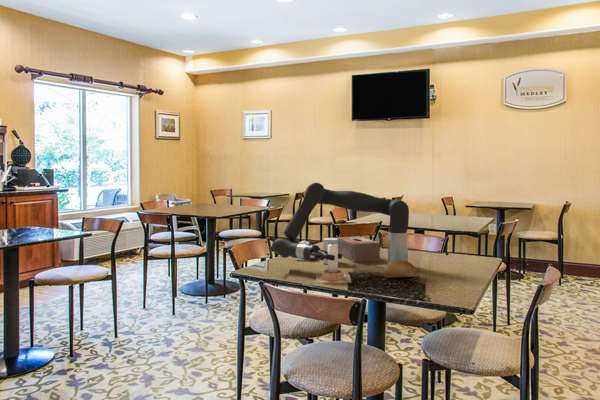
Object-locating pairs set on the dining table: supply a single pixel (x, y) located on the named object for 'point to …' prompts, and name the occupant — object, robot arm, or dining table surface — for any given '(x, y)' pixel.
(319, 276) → the birch board
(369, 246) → the tissue box cover
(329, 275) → the terracotta dish
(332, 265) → the cream candle
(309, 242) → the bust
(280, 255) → the robot arm
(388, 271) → the bread roll
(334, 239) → the supplement box
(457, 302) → the dining table surface
